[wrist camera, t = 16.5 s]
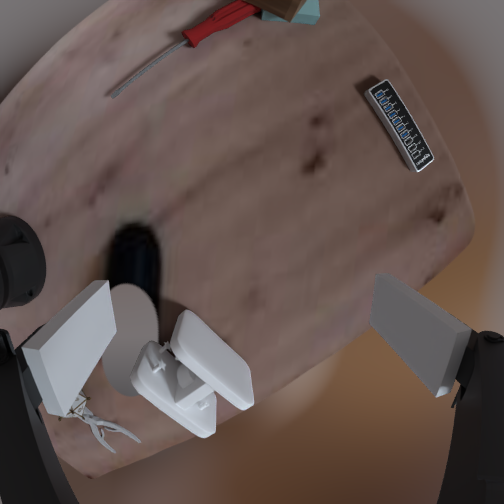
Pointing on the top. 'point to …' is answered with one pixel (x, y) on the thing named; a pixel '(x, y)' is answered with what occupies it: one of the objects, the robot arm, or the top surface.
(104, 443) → the pliers
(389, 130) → the multiport hub
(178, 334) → the cable organizer
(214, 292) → the top surface
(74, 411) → the game die
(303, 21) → the post stand
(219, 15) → the screwdriver
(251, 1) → the brown tall open box
